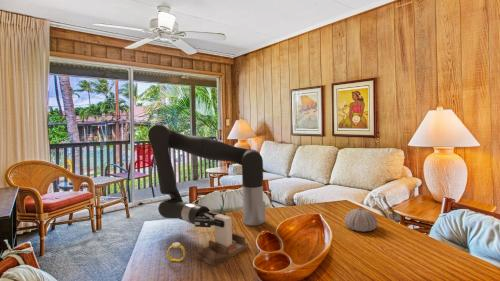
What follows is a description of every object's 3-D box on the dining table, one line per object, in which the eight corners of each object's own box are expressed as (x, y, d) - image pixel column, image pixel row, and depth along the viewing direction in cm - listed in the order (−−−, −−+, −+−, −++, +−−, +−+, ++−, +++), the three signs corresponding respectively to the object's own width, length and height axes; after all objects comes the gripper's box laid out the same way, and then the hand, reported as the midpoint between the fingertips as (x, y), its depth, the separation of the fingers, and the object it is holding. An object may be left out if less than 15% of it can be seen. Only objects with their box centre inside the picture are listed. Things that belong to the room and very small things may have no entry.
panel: (215, 247, 99) (214, 215, 98) (220, 245, 101) (219, 213, 100) (227, 253, 96) (226, 219, 95) (232, 250, 97) (231, 217, 96)
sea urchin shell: (343, 231, 114) (343, 212, 114) (345, 220, 127) (345, 203, 126) (378, 236, 109) (378, 216, 109) (376, 223, 122) (377, 206, 121)
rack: (195, 257, 96) (194, 246, 96) (229, 239, 109) (228, 230, 109) (214, 266, 90) (214, 255, 89) (248, 247, 103) (248, 236, 102)
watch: (166, 263, 93) (165, 246, 92) (168, 258, 96) (168, 242, 95) (184, 262, 93) (183, 245, 92) (186, 258, 96) (185, 241, 95)
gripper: (180, 209, 102) (211, 218, 91) (208, 200, 113) (239, 207, 101) (181, 229, 103) (212, 240, 91) (209, 218, 113) (240, 227, 102)
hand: (226, 223), depth 96 cm, fingers closed on panel, 2 cm apart
